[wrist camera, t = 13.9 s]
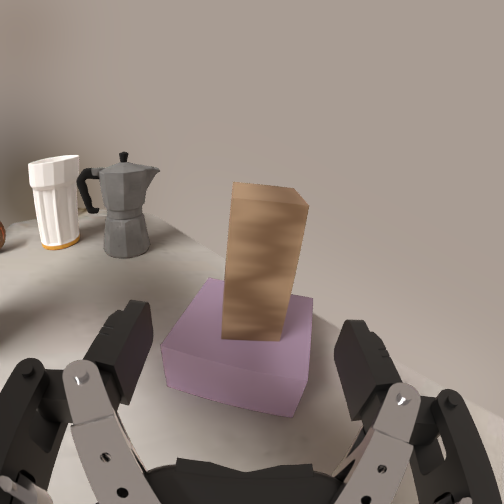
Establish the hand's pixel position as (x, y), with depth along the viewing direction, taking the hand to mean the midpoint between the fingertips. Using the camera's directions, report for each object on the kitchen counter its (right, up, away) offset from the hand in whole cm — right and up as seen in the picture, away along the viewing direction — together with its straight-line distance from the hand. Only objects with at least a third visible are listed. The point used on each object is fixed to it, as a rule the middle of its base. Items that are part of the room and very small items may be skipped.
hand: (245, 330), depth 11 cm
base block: (-1, -9, +17) cm, 19 cm away
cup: (-40, +5, +37) cm, 55 cm away
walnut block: (0, -3, +14) cm, 15 cm away
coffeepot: (-24, +4, +37) cm, 45 cm away
